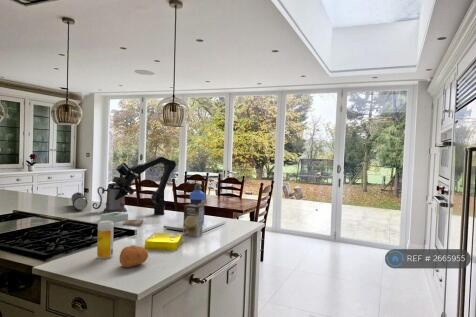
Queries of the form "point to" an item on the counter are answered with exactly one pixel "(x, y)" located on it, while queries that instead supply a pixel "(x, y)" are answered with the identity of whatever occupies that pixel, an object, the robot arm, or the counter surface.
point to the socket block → (114, 216)
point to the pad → (133, 222)
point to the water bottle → (197, 197)
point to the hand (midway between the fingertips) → (113, 199)
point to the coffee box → (193, 220)
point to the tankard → (107, 210)
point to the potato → (133, 256)
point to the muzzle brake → (79, 201)
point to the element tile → (163, 241)
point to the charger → (112, 202)
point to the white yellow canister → (105, 239)
